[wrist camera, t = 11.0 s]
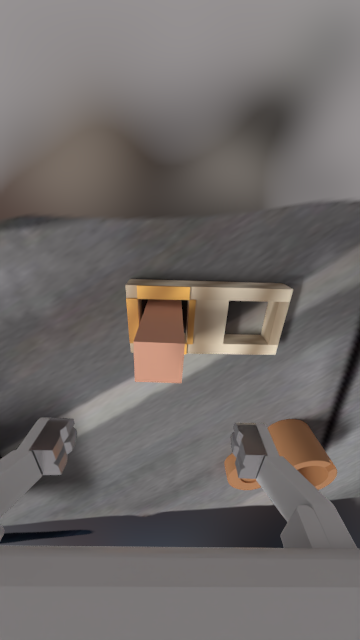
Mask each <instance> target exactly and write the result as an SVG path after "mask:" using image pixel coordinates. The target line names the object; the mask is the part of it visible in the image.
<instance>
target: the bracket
mask: <svg viewBox="0 0 360 640" xmlns="http://www.w3.org/2000/svg"><path fill="white" fill-rule="evenodd" d="M268 431H269V433H270V435H271V437H272V440H273V442H274V444H275V447H276V449H277V451H278V453H279V456H283V457H284V458H285V459H286V460H287V461H288V462H289V463H290V464H291V465H292V466H293V467H294V468H295V469H296V470H298V471H299V472H300V473H301V474H302V475H303V476H304V477H305V478H306V479H307V480H308V481H309V482H310V483H311V484H312V485H313V486H314V487H315V488H316V489H317V490H319V489H321V488H324V487H325V486H327V485H329V484H330V483H331V482H332V481H333V480H334V479H335V477H336V475H337V469H336V467H335V466H334V464H333V463H332V461H331V460H330V458H329V457H328V455H327V454H326V452H325V450H324V449H323V447H322V446H321V444H320V443H319V441H318V440H317V438H316V437H315V435H314V434H313V432H312V431H311V429H310V428H309V426H308V425H307V424H306V423H305V422H303V421H301V420H297V419H286V420H281V421H278V422H276V423H274V424H272V425H271V426H269V427H268ZM235 461H236V457H235V456H234V454H233V453H232V454H231V455H229V456H228V457H227V458H226V460H225V470H226V475H227V480H228V483H229V484H230V485H231V486H232V487H234V488H236V489H240V490H253V489H257V488H260V487H261V486H260V485H259V483H258V482H257V481H256V479H246V478H238V474H237V470H236V466H235Z"/></svg>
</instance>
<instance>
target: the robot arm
mask: <svg viewBox="0 0 360 640" xmlns="http://www.w3.org/2000/svg"><path fill="white" fill-rule="evenodd" d="M73 425H74V420H73V419H67V418H46V417H41V418H40V419H38V420H37V421H36V423H35V424H34V426H33V427H32V429H31V430H30V431H29V433H28V434H27V436H26V437H25V438H24V440H23V441H22V443H21V444H20V446H19V447H18V448H17V450H13V451H11V452H10V453H8V454H7V455H6V456H4V457H3V458H1V459H0V518H1V517H2V516H3V515H4V514H5V513H6V512H7V511H8V510H9V509H10V508H11V507H12V506H13V505H14V504H15V503H16V502H17V501H18V500H19V499H20V498H21V497H22V496H23V495H24V494H25V493H26V492H27V491H28V490H29V489H30V488H31V487H32V486H33V485H34V484H35V483H36V482H37V481H38V480H39V479H40V478H41V477H42V475H61V474H62V472H63V470H64V468H65V465H66V463H67V461H68V456H67V454H68V453H70V452H71V451H72V450H73V448H74V446H75V443H76V439H77V431H76V429H75V428H74V427H73ZM233 429H234V432H233V433H232V434H231V448H232V453H233V454H234V456H235V457H236V461H235V466H236V470H237V474H238V478H246V479H256V481H257V482H258V483H259V485H260V486H261V487H262V489H263V490H264V491H265V493H266V494H267V495H268V497H269V498H270V499H271V501H272V502H273V503H274V505H275V506H276V507H277V509H278V510H279V512H280V513H281V514H282V515H283V517H284V518H285V520H286V521H287V522H288V523H287V525H286V526H285V528H284V530H283V531H282V533H281V539H282V542H283V546H284V548H211V547H210V548H209V547H207V548H206V547H204V548H203V547H105V546H0V640H360V549H357V547H356V545H355V543H354V542H353V540H352V538H351V536H350V534H349V532H348V530H347V529H346V527H345V525H344V523H343V521H342V519H341V518H340V516H339V514H338V512H337V510H336V508H335V507H334V505H333V504H332V503H331V502H330V501H329V500H328V499H327V498H326V497H325V496H324V495H323V494H322V493H321V492H320V491H319V490H317V489H316V488H315V487H314V486H313V485H312V484H311V483H310V482H309V481H308V480H307V479H306V478H305V477H304V476H303V475H302V474H301V473H300V472H299V471H298V470H296V469H295V468H294V467H293V466H292V465H291V464H290V463H289V462H288V461H287V460H286V459H285V458H284V457H283V456H279V453H278V451H277V449H276V447H275V444H274V442H273V440H272V437H271V435H270V433H269V431H268V428H267V426H266V425H265V424H264V423H235V424H234V426H233ZM3 534H4V528H3V527H2V526H1V524H0V540H1V538H2V536H3Z"/></svg>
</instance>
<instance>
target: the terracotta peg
mask: <svg viewBox="0 0 360 640" xmlns="http://www.w3.org/2000/svg"><path fill="white" fill-rule="evenodd" d="M133 343H134V369H135V382H163V383H182V371H183V359H184V347H185V340H184V328H183V315H182V303H181V300H162V299H148V301H147V304H146V307H145V310H144V313H143V316H142V319H141V321H140V324H139V327H138V330H137V333H136V336H135V339H134V341H133Z"/></svg>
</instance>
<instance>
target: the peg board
mask: <svg viewBox="0 0 360 640" xmlns="http://www.w3.org/2000/svg"><path fill="white" fill-rule="evenodd" d="M292 293H293V289H292V288H290V287H288V286H286V285H285V284H283V283H255V282H219V281H183V280H148V279H130V280H129V281H128V282H127V284H126V297H127V298H126V302H127V314H128V326H129V339H130V346H131V353H134V343H133V341H134V339H135V336H136V333H137V330H138V327H139V324H140V321H141V319H142V299H162V300H188V303H187V322H186V333H184V340H185V347H184V354H186V353H193V354H256V355H275V354H276V350H277V347H278V343H279V339H280V336H281V332H282V329H283V325H284V321H285V318H286V314H287V311H288V307H289V303H290V300H291V296H292ZM229 301H267V302H268V305H267V309H266V314H265V318H264V322H263V327H262V331H261V335H247V334H224V333H225V326H226V320H227V313H228V306H229Z"/></svg>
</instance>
